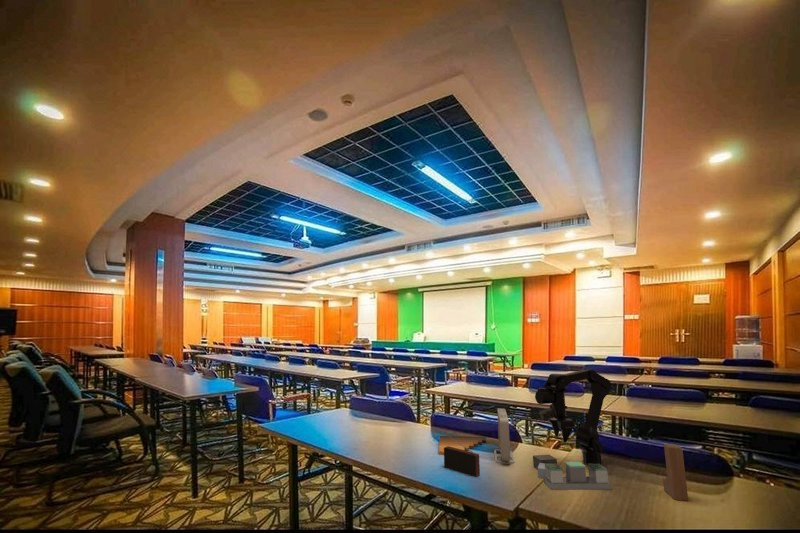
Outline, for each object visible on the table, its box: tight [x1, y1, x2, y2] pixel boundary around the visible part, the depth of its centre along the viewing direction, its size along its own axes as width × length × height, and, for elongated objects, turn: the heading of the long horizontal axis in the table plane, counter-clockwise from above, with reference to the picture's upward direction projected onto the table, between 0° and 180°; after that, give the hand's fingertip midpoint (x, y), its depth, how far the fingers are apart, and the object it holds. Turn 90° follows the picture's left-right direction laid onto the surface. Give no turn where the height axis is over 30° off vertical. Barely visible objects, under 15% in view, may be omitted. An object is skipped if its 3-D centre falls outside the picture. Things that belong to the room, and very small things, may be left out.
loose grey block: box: [532, 454, 558, 471], centre depth 167 cm, size 8×6×5 cm
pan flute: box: [438, 435, 487, 456], centre depth 197 cm, size 25×3×25 cm
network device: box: [493, 408, 516, 465], centre depth 184 cm, size 26×9×20 cm, turn 168°
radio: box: [440, 430, 481, 478], centre depth 166 cm, size 19×3×15 cm, turn 47°
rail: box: [543, 463, 612, 490], centre depth 150 cm, size 23×7×7 cm, turn 90°
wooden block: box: [662, 443, 689, 502], centre depth 142 cm, size 9×4×18 cm, turn 167°
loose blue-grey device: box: [537, 463, 545, 480], centre depth 159 cm, size 5×7×4 cm
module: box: [564, 461, 587, 482], centre depth 150 cm, size 6×4×6 cm
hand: (560, 439), depth 170 cm, fingers open, 9 cm apart
